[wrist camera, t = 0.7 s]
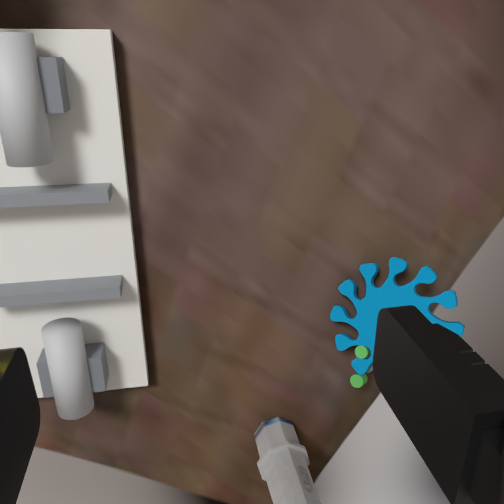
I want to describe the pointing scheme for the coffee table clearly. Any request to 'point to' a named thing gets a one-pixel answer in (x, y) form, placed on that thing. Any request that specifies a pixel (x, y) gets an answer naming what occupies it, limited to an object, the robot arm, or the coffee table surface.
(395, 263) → the gear
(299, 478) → the toothbrush head
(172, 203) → the coffee table surface
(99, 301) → the coupling board
